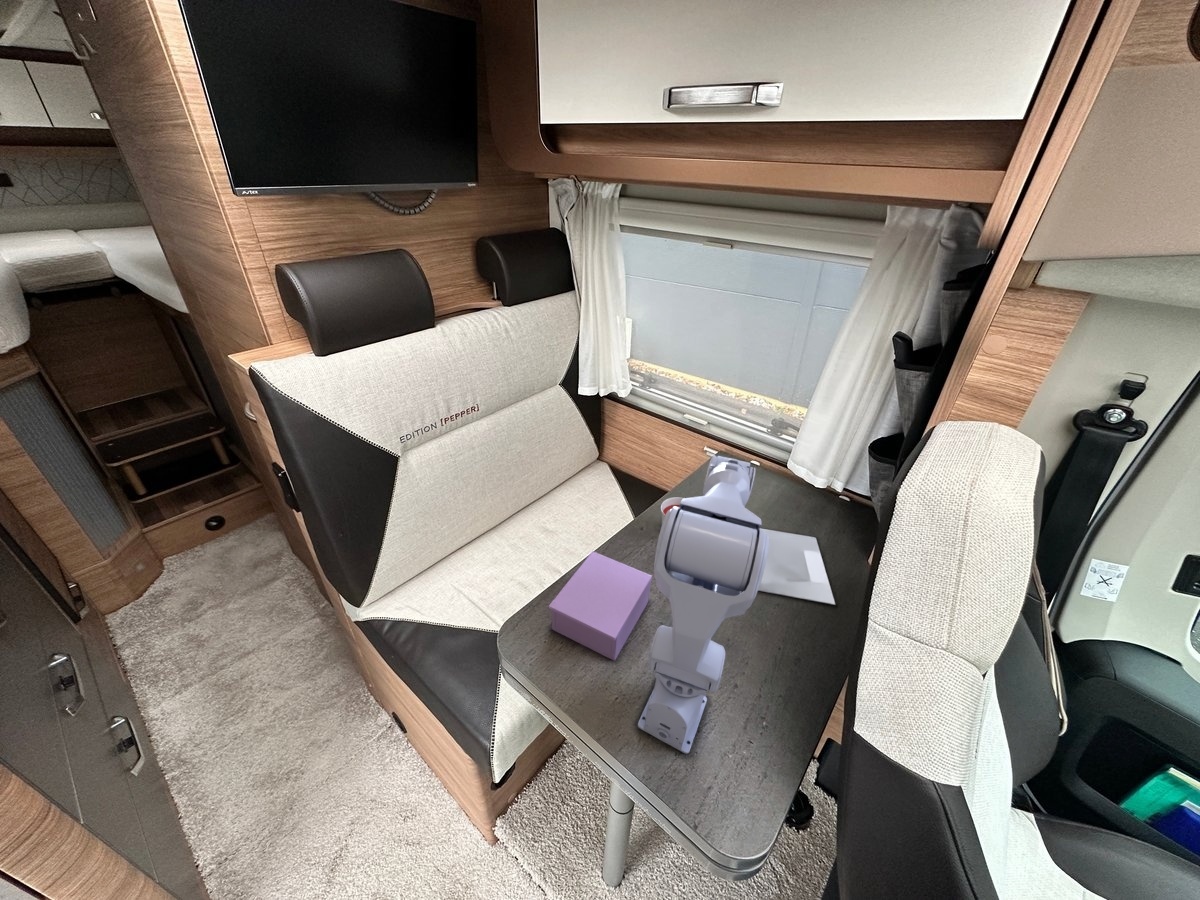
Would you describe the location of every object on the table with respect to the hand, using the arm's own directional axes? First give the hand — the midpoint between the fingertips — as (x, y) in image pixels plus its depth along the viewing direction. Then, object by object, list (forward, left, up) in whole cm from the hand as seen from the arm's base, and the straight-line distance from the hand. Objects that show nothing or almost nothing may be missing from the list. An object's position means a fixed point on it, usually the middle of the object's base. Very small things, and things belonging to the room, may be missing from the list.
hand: (703, 588), depth 80 cm
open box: (-6, +16, -10) cm, 20 cm away
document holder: (+26, -10, -10) cm, 30 cm away
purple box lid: (-6, +16, -4) cm, 18 cm away
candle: (+24, +12, -11) cm, 29 cm away
